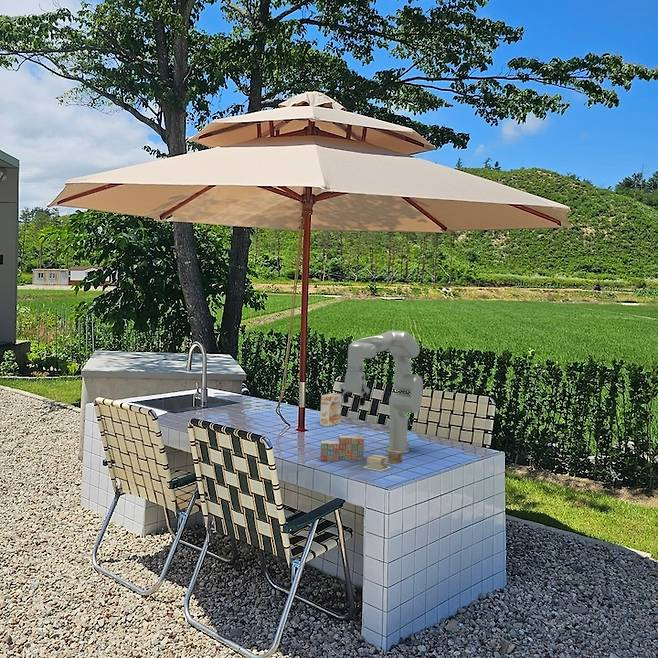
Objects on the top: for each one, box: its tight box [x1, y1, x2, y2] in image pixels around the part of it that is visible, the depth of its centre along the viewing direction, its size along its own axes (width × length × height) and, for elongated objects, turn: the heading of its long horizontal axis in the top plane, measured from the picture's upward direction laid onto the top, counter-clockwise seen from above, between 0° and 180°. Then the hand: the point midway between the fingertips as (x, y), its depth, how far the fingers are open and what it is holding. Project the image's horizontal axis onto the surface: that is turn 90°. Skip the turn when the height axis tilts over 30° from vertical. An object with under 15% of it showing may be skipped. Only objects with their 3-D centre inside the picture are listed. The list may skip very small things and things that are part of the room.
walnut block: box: [387, 451, 403, 465], centre depth 344 cm, size 5×5×6 cm
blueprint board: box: [356, 463, 398, 474], centre depth 333 cm, size 14×14×1 cm
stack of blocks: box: [320, 434, 365, 462], centre depth 349 cm, size 21×6×12 cm, turn 92°
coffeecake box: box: [319, 392, 343, 427], centre depth 440 cm, size 15×7×20 cm, turn 148°
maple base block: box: [366, 454, 388, 470], centre depth 333 cm, size 7×7×5 cm
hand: (353, 404), depth 336 cm, fingers open, 9 cm apart
